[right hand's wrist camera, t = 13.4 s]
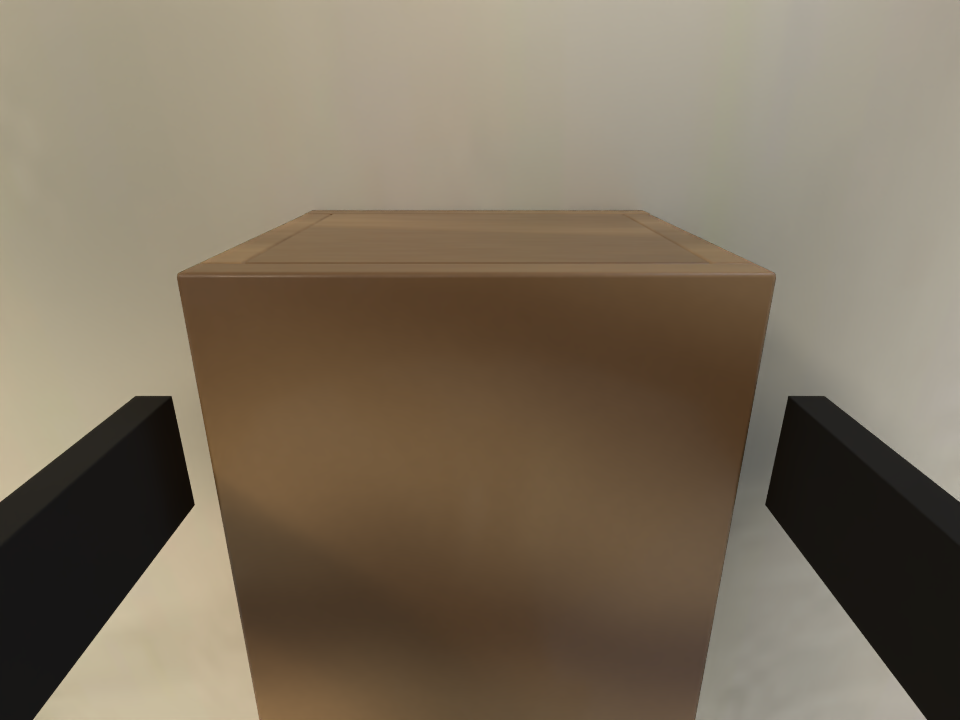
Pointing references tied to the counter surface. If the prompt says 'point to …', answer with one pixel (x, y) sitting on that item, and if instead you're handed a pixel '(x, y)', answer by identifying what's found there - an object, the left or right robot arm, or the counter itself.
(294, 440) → the cabinet
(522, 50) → the counter surface
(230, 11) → the counter surface
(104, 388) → the counter surface
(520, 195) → the counter surface
